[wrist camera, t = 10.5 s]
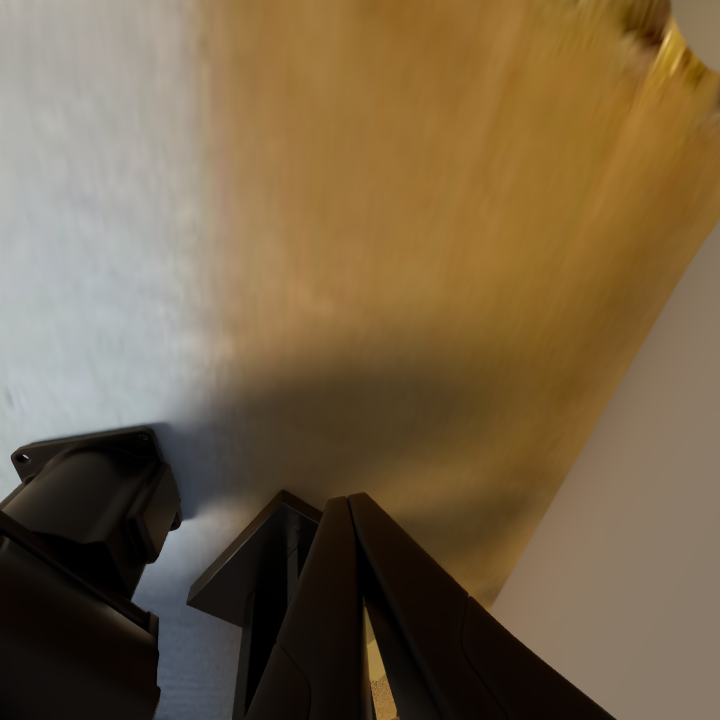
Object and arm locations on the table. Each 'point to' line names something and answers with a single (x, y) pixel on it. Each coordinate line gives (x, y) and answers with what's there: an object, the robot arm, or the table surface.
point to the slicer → (259, 585)
